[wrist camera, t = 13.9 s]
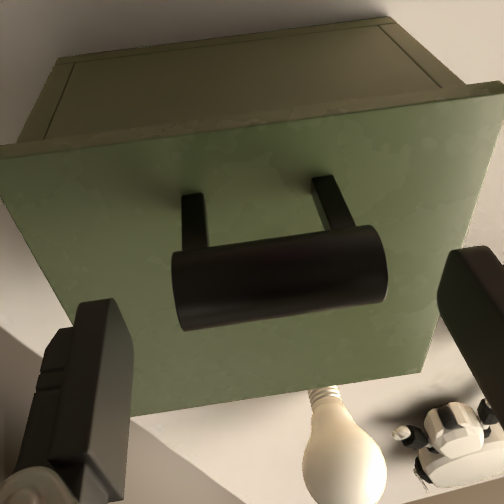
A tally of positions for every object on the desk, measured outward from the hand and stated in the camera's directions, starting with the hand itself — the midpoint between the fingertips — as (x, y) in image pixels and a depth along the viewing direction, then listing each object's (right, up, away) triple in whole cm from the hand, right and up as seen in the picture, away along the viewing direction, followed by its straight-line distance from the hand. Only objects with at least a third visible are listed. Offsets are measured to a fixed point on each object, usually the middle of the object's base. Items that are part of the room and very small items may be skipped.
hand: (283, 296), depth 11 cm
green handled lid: (0, 0, +7) cm, 7 cm away
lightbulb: (+5, -10, +30) cm, 32 cm away
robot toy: (+21, -17, +39) cm, 48 cm away
